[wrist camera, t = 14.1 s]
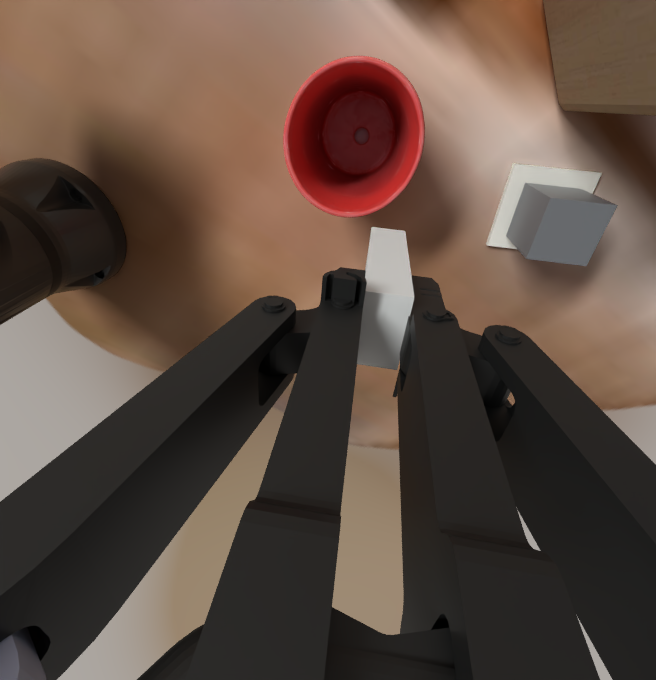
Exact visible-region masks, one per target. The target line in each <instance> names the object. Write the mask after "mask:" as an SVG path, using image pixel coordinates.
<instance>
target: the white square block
mask: <svg viewBox="0 0 656 680" xmlns="http://www.w3.org/2000/svg"><path fill="white" fill-rule="evenodd" d="M601 174H602V173H600V172H592V171H583V170H573V169H564V168H555V167H545V166H536V165H526V164H517V163H513V164H512V167H511V170H510V173H509V176H508V179H507V182H506V185H505V188H504V191H503V194H502V197H501V200H500V203H499V206H498V209H497V212H496V215H495V218H494V221H493V224H492V227H491V230H490V233H489V236H488V239H487V242H486V245H487V246H495V247H503V248H512V249H517V248H516V247H515V246H514V245H513V243H512V242H511V241H510V240H509V239H508V238H507V237H506V234H507V232H508V229H509V226H510V223H511V221H512V218H513V215H514V212H515V209H516V207H517V204H518V201H519V198H520V196H521V193H522V190H523V187H524V185H525V183H533V184H542V185H551V186H560V187H569V188H579V189H583V190H585V191H587V192H589V193H591V194H592V193H593V191H594V189H595V187H596V185H597V183H598V181H599V178H600V176H601Z"/></svg>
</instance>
